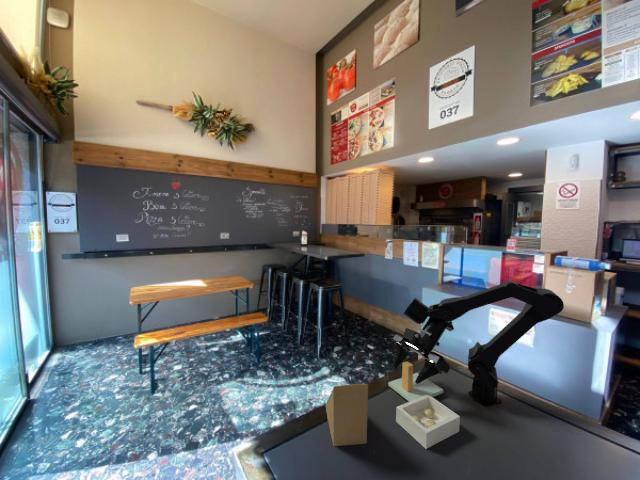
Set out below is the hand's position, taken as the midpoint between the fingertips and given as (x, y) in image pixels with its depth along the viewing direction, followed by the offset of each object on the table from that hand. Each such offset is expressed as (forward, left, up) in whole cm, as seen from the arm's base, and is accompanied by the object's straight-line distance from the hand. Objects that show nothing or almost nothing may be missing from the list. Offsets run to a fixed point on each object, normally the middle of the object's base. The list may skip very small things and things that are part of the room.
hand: (404, 375), depth 83 cm
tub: (+2, +13, -7) cm, 14 cm away
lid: (-5, -1, -7) cm, 8 cm away
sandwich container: (+22, +5, -7) cm, 23 cm away
